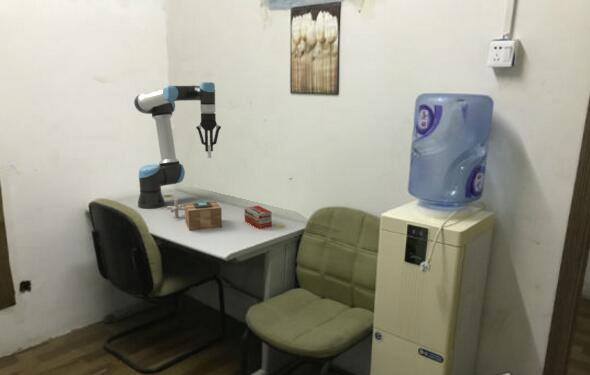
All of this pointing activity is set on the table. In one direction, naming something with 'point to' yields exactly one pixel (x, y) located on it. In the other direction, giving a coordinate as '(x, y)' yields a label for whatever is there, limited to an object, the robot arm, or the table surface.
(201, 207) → the collar
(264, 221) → the medicine box
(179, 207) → the pipe connector
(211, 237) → the table surface
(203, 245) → the table surface
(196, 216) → the socket block
